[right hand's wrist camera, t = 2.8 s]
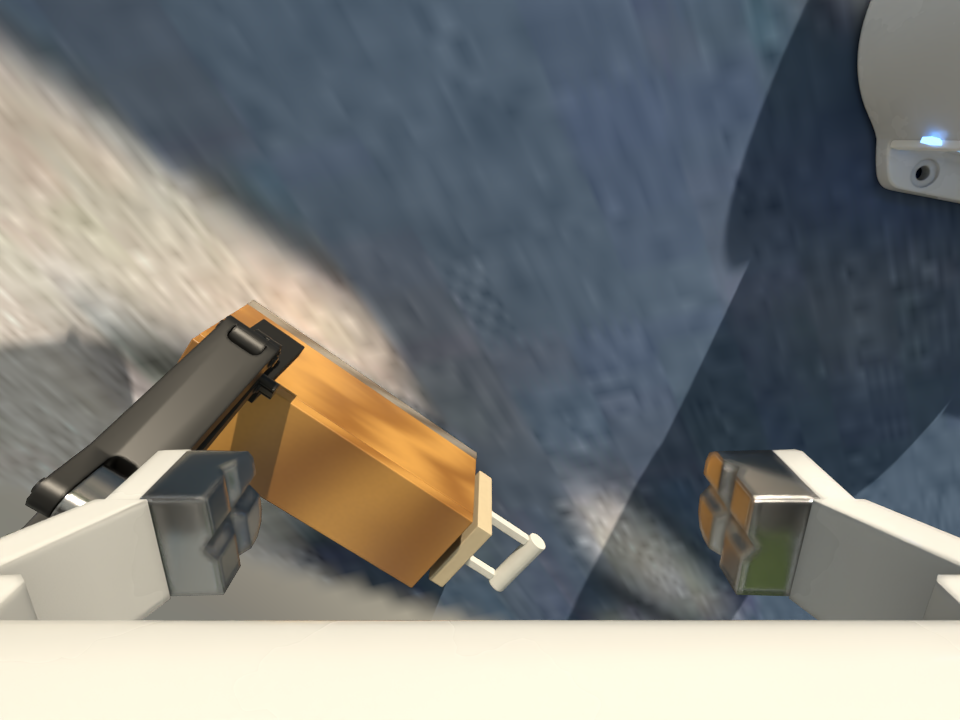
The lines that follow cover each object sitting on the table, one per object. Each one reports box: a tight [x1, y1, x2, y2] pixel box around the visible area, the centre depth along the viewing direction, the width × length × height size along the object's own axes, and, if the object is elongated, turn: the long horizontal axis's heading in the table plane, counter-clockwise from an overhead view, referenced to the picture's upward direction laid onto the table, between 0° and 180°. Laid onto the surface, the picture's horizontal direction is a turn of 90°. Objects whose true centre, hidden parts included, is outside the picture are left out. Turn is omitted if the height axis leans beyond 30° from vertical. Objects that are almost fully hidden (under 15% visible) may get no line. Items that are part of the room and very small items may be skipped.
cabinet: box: [178, 300, 477, 588], centre depth 38 cm, size 20×7×9 cm, turn 52°
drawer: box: [429, 471, 545, 592], centre depth 39 cm, size 24×6×7 cm, turn 52°
